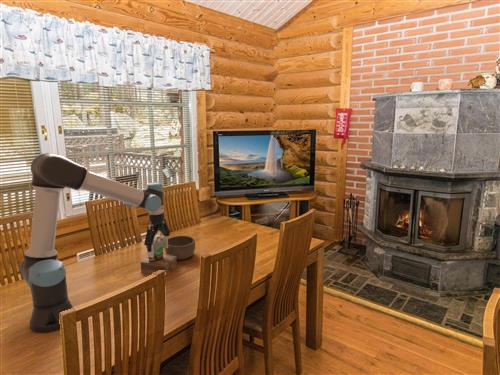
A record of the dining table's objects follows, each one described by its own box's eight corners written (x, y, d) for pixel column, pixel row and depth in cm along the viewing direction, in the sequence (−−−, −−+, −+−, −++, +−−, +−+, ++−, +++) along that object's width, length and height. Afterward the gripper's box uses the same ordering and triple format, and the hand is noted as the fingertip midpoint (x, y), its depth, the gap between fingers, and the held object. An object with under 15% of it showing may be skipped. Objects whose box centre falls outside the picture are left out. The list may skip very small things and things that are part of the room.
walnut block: (165, 276, 169) (164, 265, 167) (141, 272, 173) (140, 261, 172) (176, 266, 180) (176, 256, 179) (154, 263, 184) (153, 253, 183)
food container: (158, 263, 169) (157, 244, 167) (147, 263, 170) (145, 244, 168) (169, 254, 181) (168, 236, 179) (158, 253, 182) (157, 236, 180)
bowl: (174, 265, 181) (173, 248, 179) (159, 255, 195) (159, 239, 193) (201, 257, 192) (201, 241, 190) (186, 248, 206) (185, 233, 204)
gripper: (148, 220, 158) (151, 262, 162) (175, 207, 181) (176, 244, 185) (135, 218, 160) (137, 260, 164) (163, 206, 183) (165, 243, 187)
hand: (158, 252), depth 174 cm, fingers open, 13 cm apart
